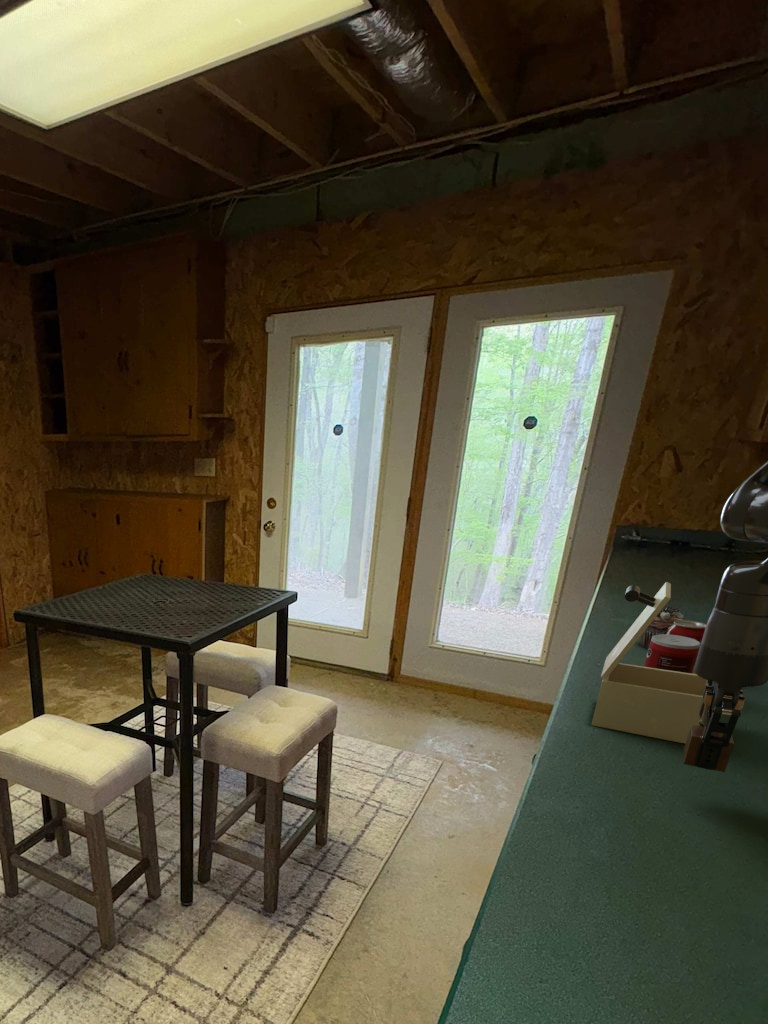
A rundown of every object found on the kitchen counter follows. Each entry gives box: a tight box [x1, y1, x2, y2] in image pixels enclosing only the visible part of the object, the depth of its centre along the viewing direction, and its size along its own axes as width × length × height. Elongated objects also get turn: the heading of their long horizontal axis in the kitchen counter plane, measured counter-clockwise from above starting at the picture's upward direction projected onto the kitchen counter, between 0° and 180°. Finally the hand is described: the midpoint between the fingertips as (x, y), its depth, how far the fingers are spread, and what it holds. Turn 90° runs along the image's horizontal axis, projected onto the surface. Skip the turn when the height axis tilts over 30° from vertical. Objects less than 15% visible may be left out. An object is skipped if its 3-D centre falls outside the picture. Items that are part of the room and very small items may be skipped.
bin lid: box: [600, 581, 672, 680], centre depth 111 cm, size 16×13×5 cm
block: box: [682, 725, 735, 773], centre depth 87 cm, size 4×4×4 cm
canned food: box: [643, 634, 700, 674], centre depth 125 cm, size 8×8×11 cm
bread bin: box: [591, 662, 708, 744], centre depth 112 cm, size 16×13×9 cm
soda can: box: [667, 619, 707, 674], centre depth 132 cm, size 7×7×12 cm
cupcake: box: [640, 605, 686, 650], centre depth 150 cm, size 10×10×10 cm
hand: (703, 759), depth 87 cm, fingers closed on block, 4 cm apart
